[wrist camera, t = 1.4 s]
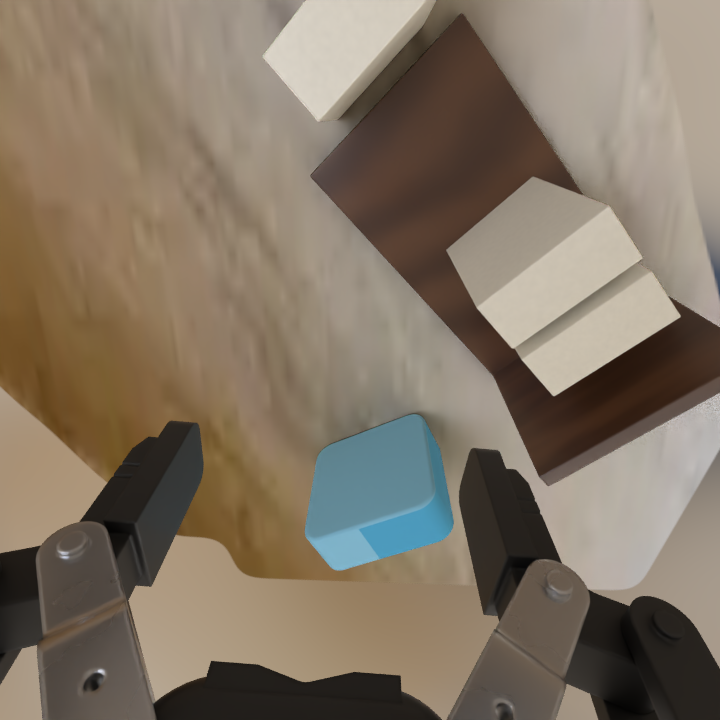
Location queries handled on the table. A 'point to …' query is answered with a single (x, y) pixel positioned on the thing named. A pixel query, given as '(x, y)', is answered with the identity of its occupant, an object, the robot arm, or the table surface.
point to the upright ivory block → (342, 48)
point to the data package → (378, 494)
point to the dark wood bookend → (468, 207)
